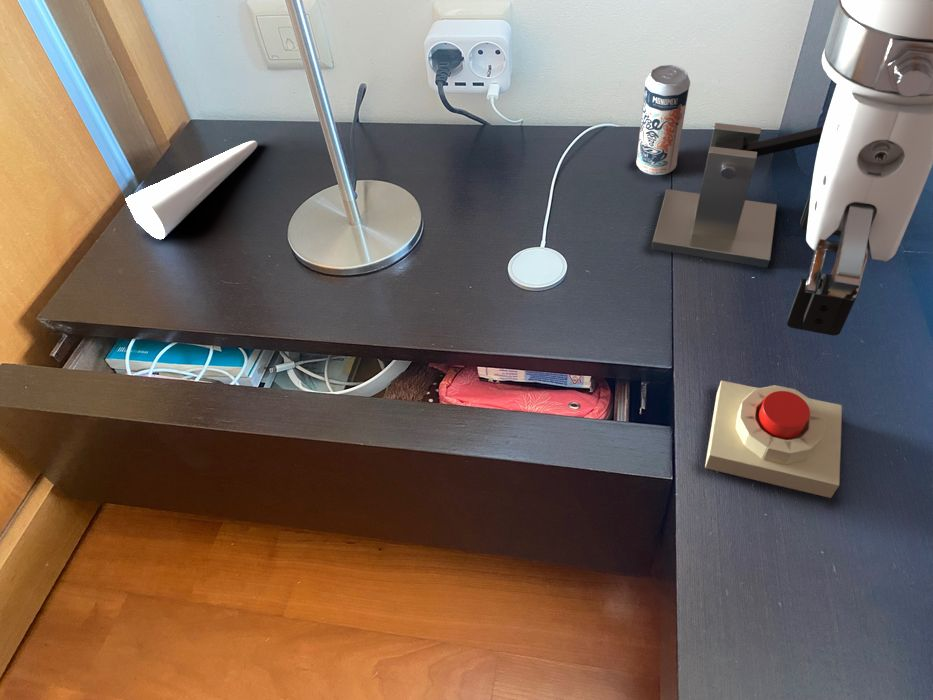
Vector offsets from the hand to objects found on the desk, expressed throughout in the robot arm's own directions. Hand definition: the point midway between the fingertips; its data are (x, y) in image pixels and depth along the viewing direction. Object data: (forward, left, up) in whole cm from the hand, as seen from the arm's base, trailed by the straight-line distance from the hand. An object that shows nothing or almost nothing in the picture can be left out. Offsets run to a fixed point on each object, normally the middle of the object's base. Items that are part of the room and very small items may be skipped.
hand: (817, 276), depth 50 cm
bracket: (+7, -24, -18) cm, 31 cm away
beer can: (+15, -34, -18) cm, 41 cm away
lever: (+2, -24, -7) cm, 25 cm away
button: (-1, +2, -15) cm, 15 cm away
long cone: (+67, -17, -18) cm, 72 cm away
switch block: (-1, +2, -18) cm, 18 cm away
